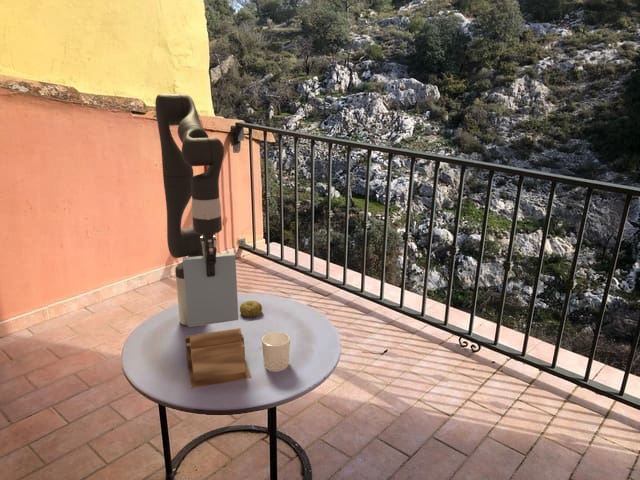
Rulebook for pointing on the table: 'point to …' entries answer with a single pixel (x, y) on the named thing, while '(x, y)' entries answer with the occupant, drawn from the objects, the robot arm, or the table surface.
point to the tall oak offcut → (215, 339)
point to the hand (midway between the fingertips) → (210, 274)
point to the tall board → (211, 290)
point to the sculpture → (253, 306)
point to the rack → (215, 379)
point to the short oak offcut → (218, 360)
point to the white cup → (276, 351)
